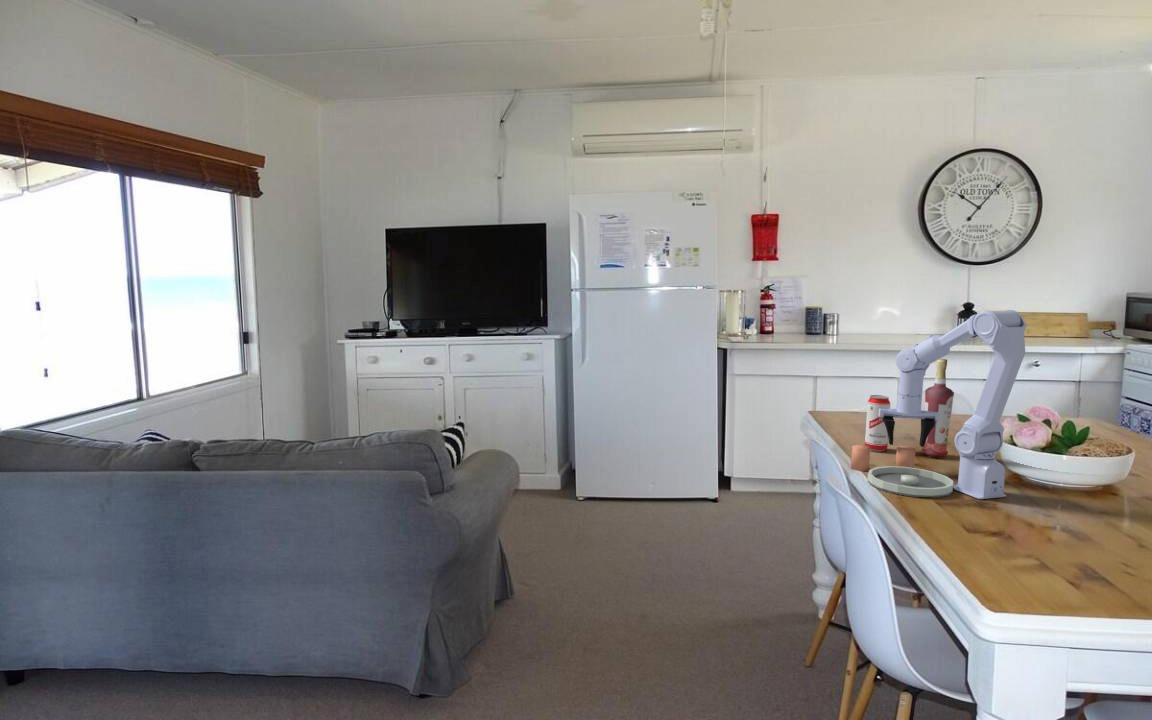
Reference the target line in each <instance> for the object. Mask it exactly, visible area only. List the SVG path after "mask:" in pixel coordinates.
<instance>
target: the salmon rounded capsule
mask: <svg viewBox="0 0 1152 720" xmlns="http://www.w3.org/2000/svg"><path fill="white" fill-rule="evenodd" d="M915 460H916V448H914V447H911V446H907V445H898V446H896V457H895V466H897V467H910V468H915V462H916V461H915Z"/></svg>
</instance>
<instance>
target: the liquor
mask: <svg viewBox="0 0 1152 720" xmlns="http://www.w3.org/2000/svg"><path fill="white" fill-rule="evenodd" d="M935 366H936V374H935V379H934V385H933V386H930V387H928V388H926V389H925V390H924V411H930V412H938V413H939V414H940V415H939V421H936V420H934V421H935V425H934V427H933V428H932V430H931V431H930V433H929V435H928V437H927V439H926V442H925V445H924V447H922V449H921V451H922V453H924V455H925V456H926V455H927V457H929V456H930V457H929V458H934V457H936V458H935V459H940V458H944V457H945V456H946V455H948V454H949V452H948V450H947V449H948V443H949V442H948V440H949V434H950V433H949V432H950V431H949V430H950V424H951V417H952V410H953V403H954V395H955V392H954V391H953V390H952V389H951V388H949V387H947V379H946V377H947V376H946V375H947V374H946V370H947V366H948V359H946V358H940V359H938V360H936V365H935Z"/></svg>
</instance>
